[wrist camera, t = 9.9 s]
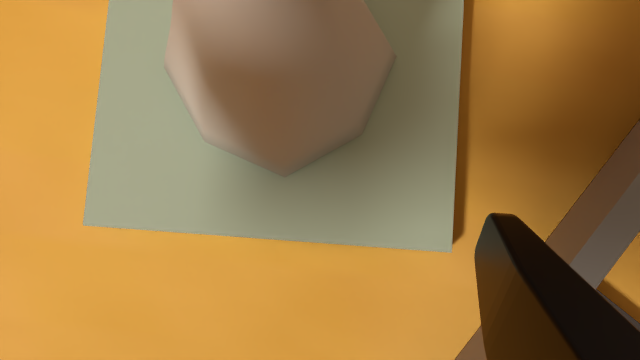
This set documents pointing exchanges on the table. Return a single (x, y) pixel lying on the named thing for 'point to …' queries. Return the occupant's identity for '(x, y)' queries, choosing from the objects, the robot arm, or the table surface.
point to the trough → (595, 226)
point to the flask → (277, 75)
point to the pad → (268, 187)
